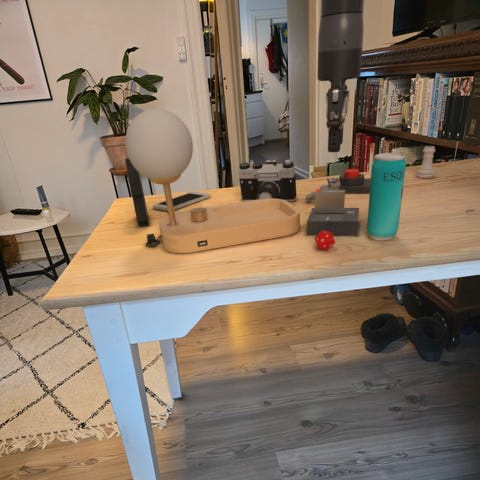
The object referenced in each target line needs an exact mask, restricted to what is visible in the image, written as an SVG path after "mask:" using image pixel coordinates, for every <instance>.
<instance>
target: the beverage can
mask: <svg viewBox="0 0 480 480" xmlns="http://www.w3.org/2000/svg"><path fill="white" fill-rule="evenodd" d="M405 157H406V155H405V154H404V153H401V152H384V153H378V154H375V155H374V157H373V158H374V160H373V162H372V163H371V169H370V170H371V171H370V178H371V183H370V193H369V195H368V196H369V197H368V210H367V221H366V222H367V223H366V230H367V234H368V237H369V239H370V240H372V241H373V240H374V241H377V242H387V241H391V240H393V239H394V238H395V236H396V234H397V232H398V230H399V225H400V216H401V209H402V202H403V201H402V200H403V193H404V184H405V175H406V169H407V163H406V160H405Z"/></svg>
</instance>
